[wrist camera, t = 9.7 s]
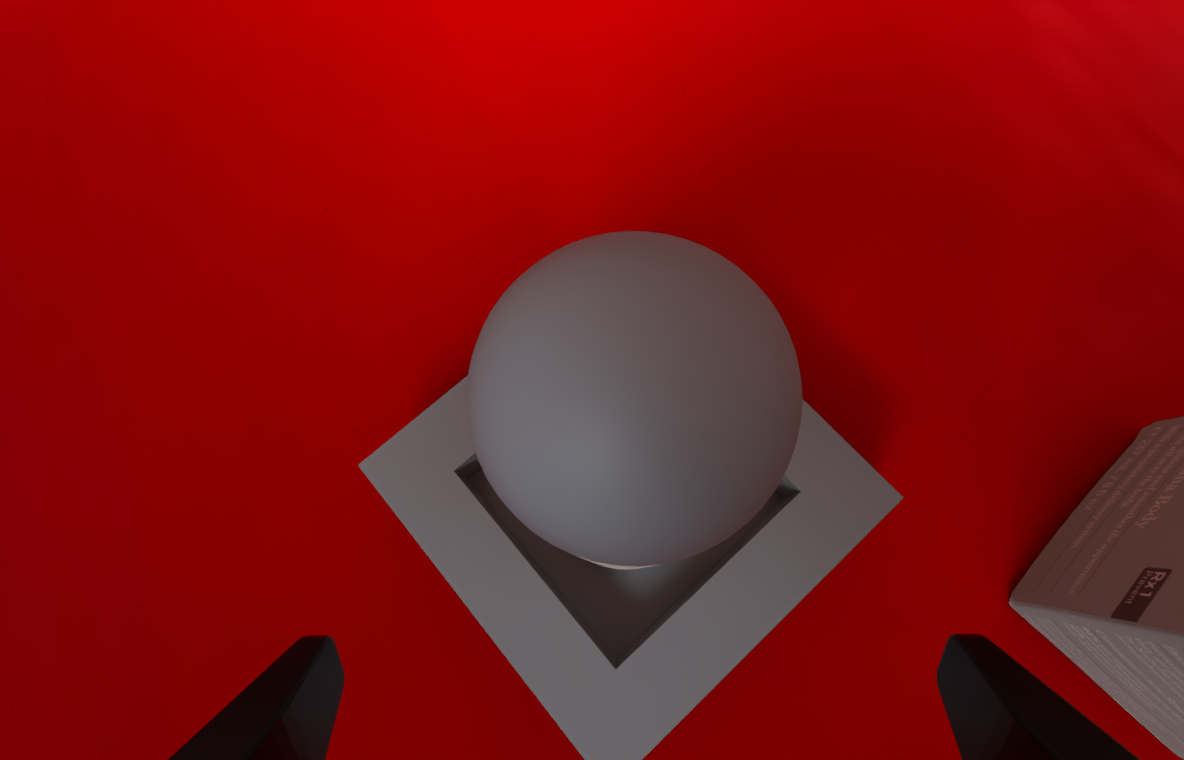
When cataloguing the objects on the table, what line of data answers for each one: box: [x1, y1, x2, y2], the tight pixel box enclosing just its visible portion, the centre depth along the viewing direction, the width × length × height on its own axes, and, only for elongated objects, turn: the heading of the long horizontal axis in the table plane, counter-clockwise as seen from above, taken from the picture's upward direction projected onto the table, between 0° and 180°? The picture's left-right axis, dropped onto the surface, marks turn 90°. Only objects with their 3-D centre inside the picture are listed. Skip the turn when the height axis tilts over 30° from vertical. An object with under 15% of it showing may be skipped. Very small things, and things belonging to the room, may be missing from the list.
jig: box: [358, 375, 904, 760], centre depth 19 cm, size 11×11×3 cm
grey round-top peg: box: [467, 231, 803, 570], centre depth 13 cm, size 5×5×13 cm
